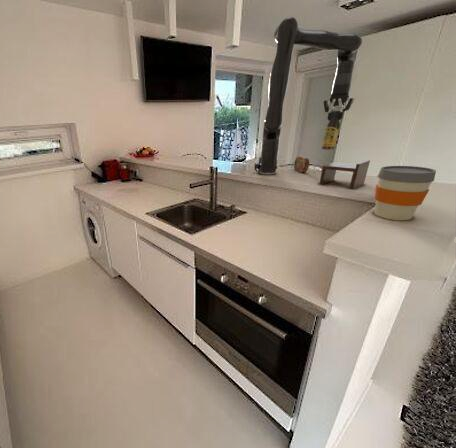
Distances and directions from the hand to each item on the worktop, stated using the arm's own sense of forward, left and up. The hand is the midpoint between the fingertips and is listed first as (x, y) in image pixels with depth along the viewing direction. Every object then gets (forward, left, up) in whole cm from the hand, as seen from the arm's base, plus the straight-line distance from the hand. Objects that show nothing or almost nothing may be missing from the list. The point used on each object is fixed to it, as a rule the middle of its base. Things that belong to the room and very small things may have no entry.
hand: (334, 120), depth 132 cm
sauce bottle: (0, 0, -15) cm, 15 cm away
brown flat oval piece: (-11, -5, -28) cm, 31 cm away
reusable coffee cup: (+45, -56, -28) cm, 77 cm away
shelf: (+18, -24, -28) cm, 41 cm away
